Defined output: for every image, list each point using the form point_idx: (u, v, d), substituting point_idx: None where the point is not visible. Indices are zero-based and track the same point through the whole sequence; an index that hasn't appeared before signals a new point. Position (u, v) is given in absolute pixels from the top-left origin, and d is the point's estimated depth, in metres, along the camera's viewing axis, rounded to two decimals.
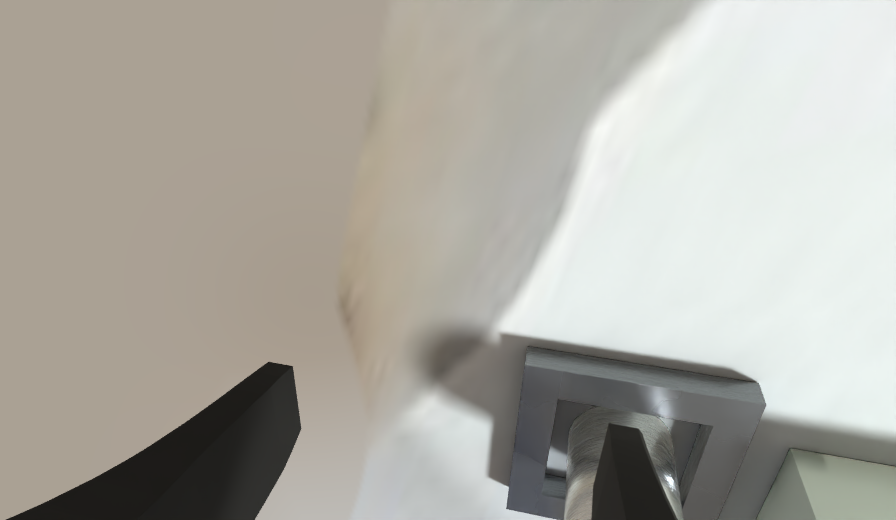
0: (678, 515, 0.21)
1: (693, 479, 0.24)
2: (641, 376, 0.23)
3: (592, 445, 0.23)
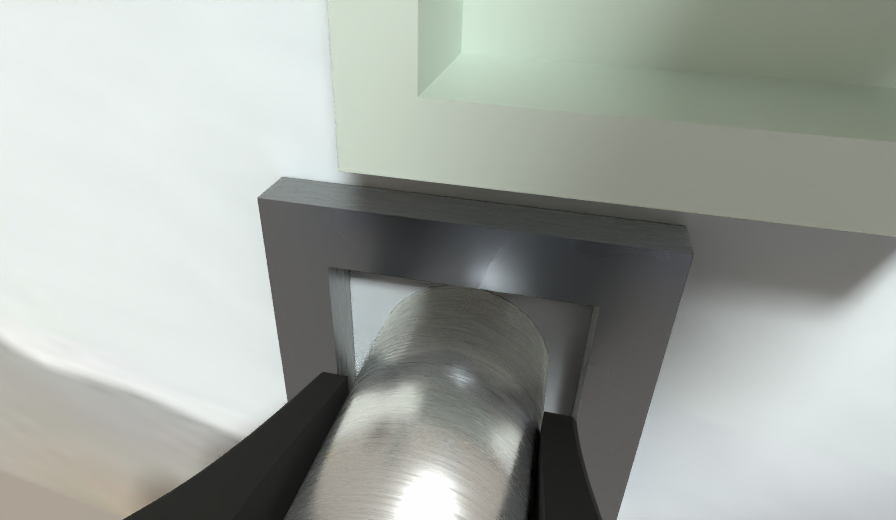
0: (349, 423, 0.11)
1: (466, 286, 0.13)
2: None
3: None
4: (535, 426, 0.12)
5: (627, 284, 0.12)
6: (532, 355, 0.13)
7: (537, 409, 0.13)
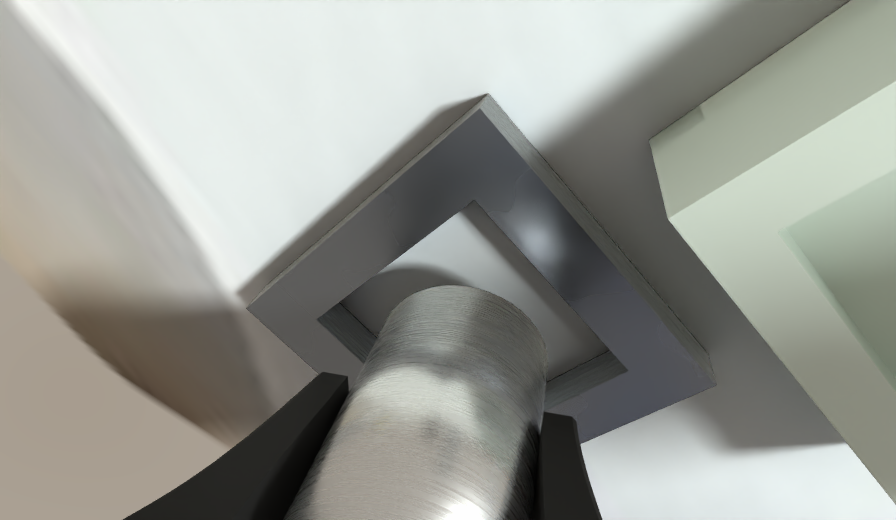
0: (349, 423, 0.11)
1: (560, 294, 0.14)
2: (351, 215, 0.15)
3: None
4: (535, 427, 0.12)
5: (661, 372, 0.15)
6: (532, 356, 0.13)
7: (537, 410, 0.13)
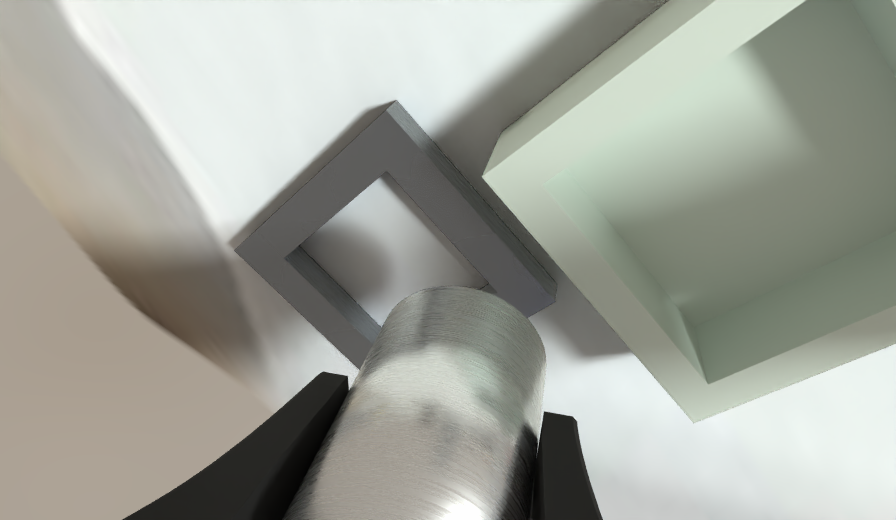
0: (350, 422, 0.11)
1: (447, 237, 0.21)
2: None
3: None
4: (534, 429, 0.12)
5: (518, 292, 0.21)
6: (532, 358, 0.13)
7: (536, 412, 0.13)
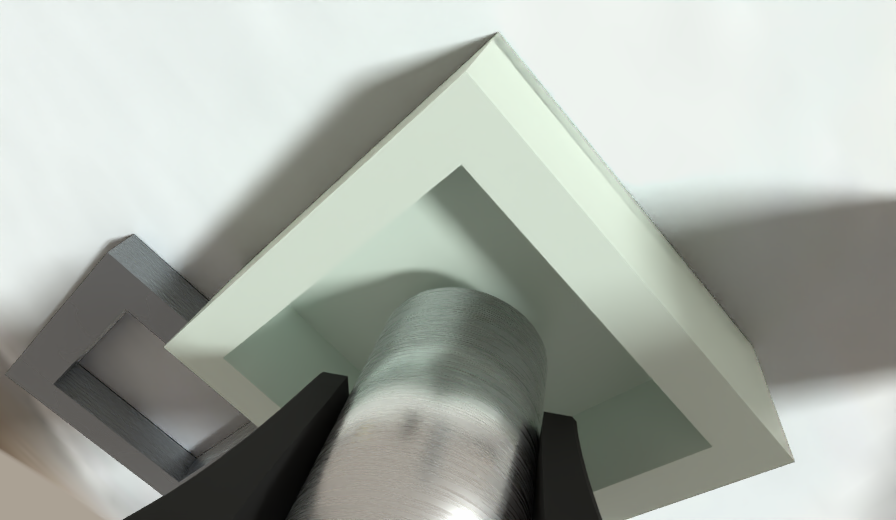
0: (355, 423, 0.11)
1: None
2: None
3: None
4: (536, 434, 0.12)
5: None
6: (535, 362, 0.13)
7: (538, 416, 0.13)
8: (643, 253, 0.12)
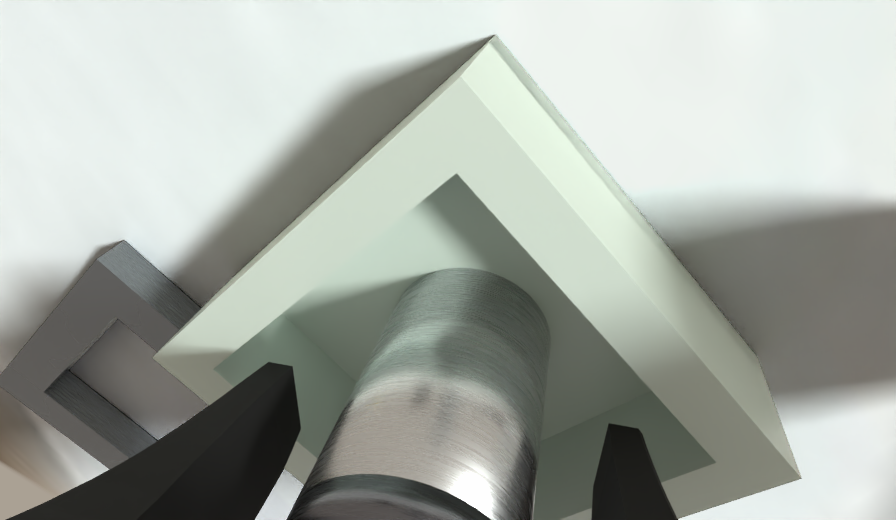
0: (373, 388, 0.12)
1: None
2: None
3: None
4: (541, 402, 0.13)
5: None
6: (539, 337, 0.14)
7: (542, 387, 0.13)
8: (645, 263, 0.12)
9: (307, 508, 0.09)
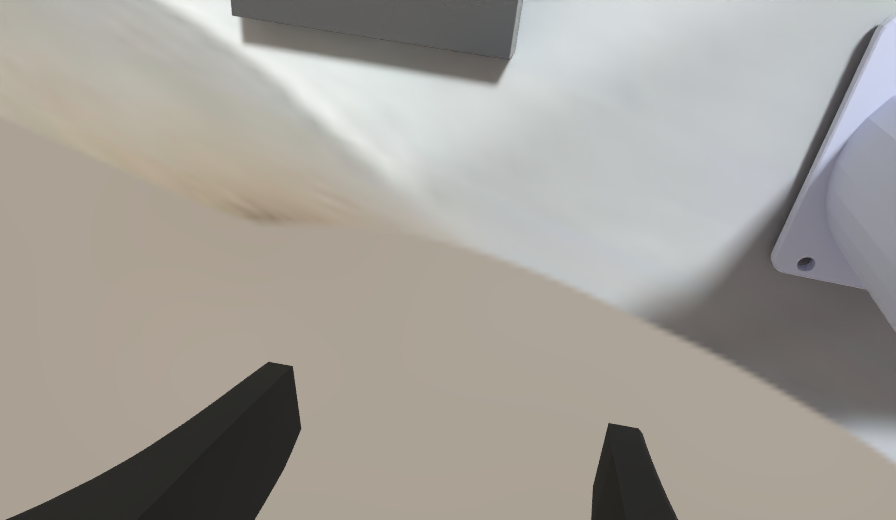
0: None
1: None
2: None
3: None
4: None
5: None
6: None
7: None
8: None
9: None
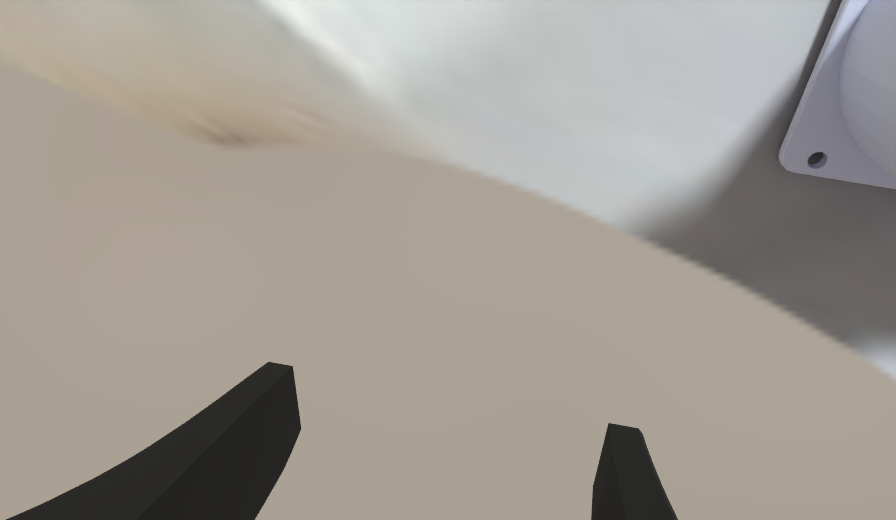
0: None
1: None
2: None
3: None
4: None
5: None
6: None
7: None
8: None
9: None
